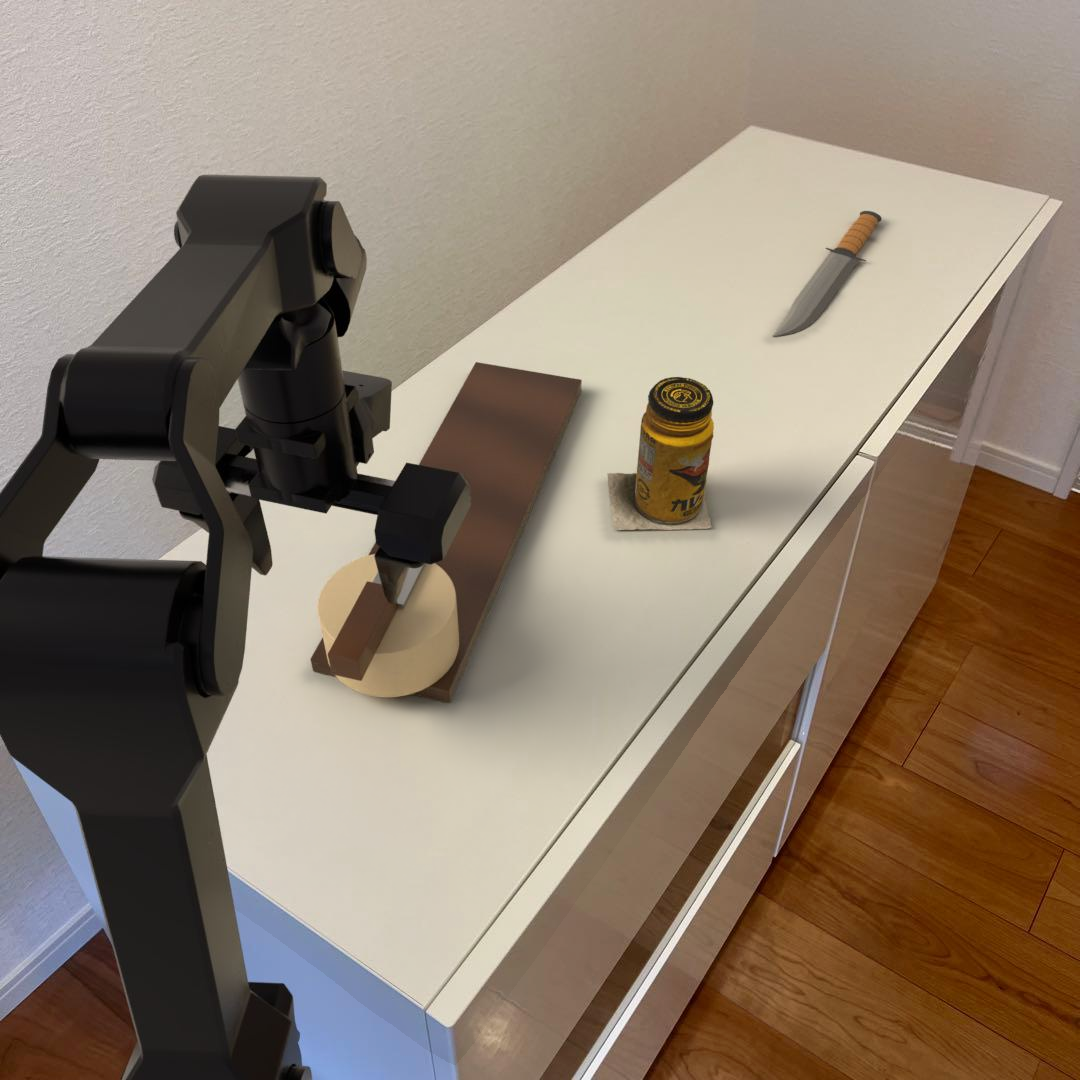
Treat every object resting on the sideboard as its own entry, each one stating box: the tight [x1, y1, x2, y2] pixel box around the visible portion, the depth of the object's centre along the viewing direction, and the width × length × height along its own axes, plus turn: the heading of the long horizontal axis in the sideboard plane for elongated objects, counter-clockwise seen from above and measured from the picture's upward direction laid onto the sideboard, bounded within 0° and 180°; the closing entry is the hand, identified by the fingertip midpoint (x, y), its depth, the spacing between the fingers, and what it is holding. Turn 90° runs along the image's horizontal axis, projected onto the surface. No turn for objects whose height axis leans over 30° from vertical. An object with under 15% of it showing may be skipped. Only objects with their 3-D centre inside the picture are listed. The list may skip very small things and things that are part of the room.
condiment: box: [606, 376, 715, 531], centre depth 91 cm, size 7×8×12 cm
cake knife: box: [328, 563, 426, 681], centre depth 78 cm, size 17×3×2 cm, turn 165°
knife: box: [772, 210, 882, 337], centre depth 123 cm, size 30×1×5 cm
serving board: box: [310, 361, 583, 704], centre depth 94 cm, size 40×11×2 cm, turn 164°
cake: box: [317, 554, 459, 698], centre depth 80 cm, size 10×10×5 cm
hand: (329, 584), depth 71 cm, fingers open, 9 cm apart
